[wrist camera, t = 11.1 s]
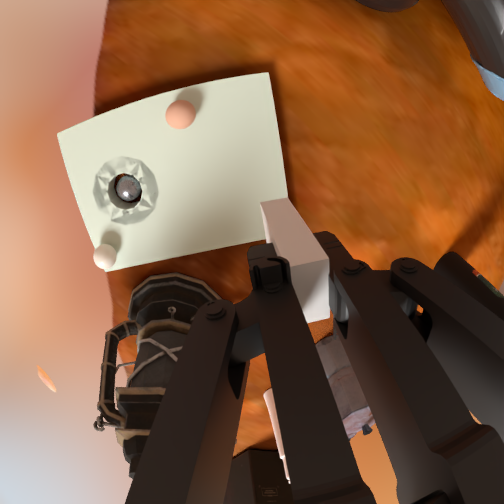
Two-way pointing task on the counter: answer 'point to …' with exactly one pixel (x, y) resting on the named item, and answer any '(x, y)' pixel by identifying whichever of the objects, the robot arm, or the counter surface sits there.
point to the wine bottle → (470, 282)
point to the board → (179, 171)
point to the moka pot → (345, 387)
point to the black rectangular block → (258, 479)
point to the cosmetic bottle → (275, 426)
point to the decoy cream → (105, 256)
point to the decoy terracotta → (180, 114)
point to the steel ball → (128, 188)
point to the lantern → (148, 356)
